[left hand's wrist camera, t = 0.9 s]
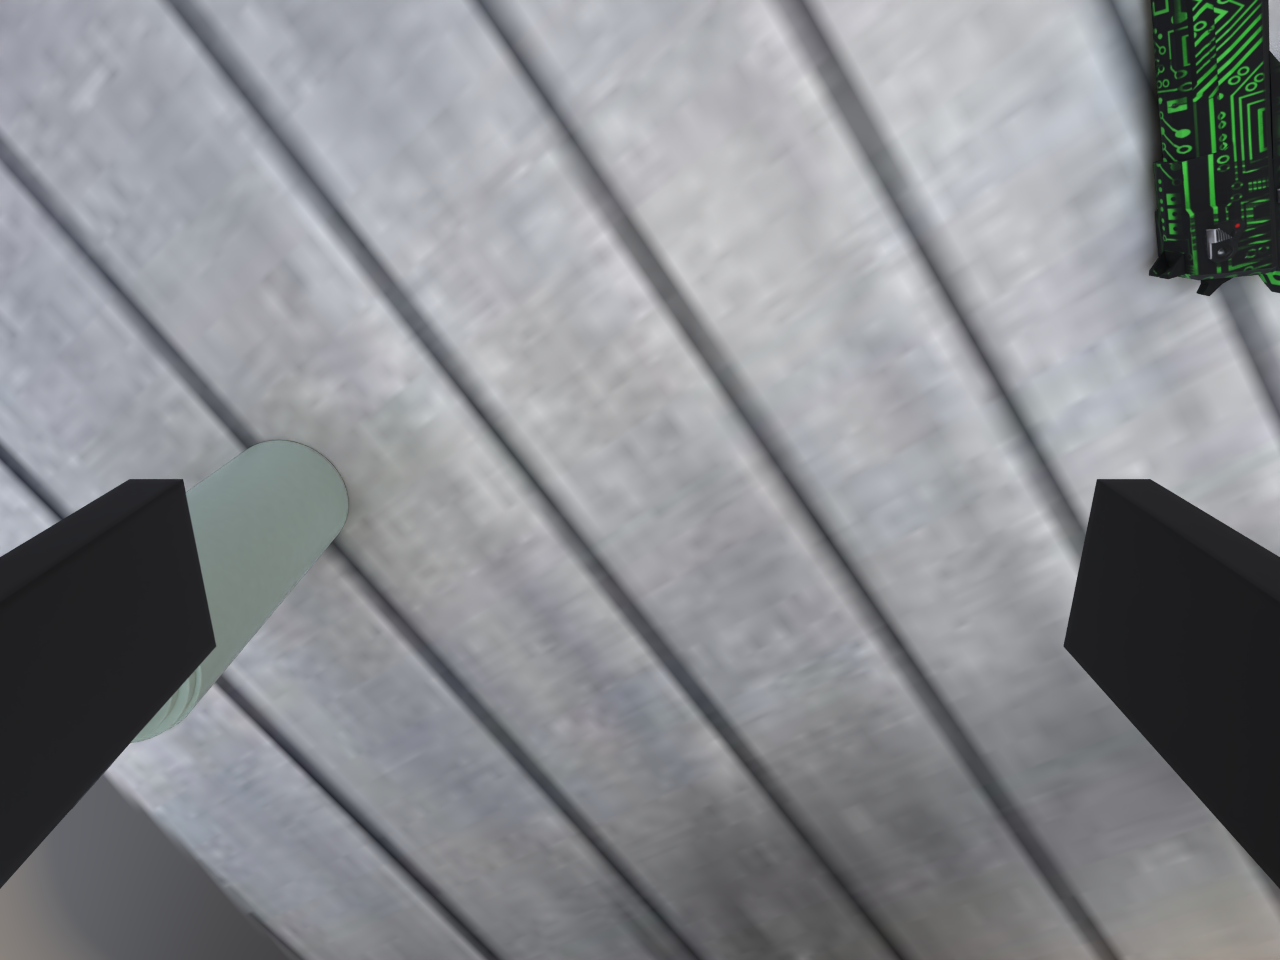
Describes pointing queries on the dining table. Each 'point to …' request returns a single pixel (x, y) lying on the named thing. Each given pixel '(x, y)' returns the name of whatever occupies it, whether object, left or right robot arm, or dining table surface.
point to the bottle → (254, 549)
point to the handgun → (1217, 142)
